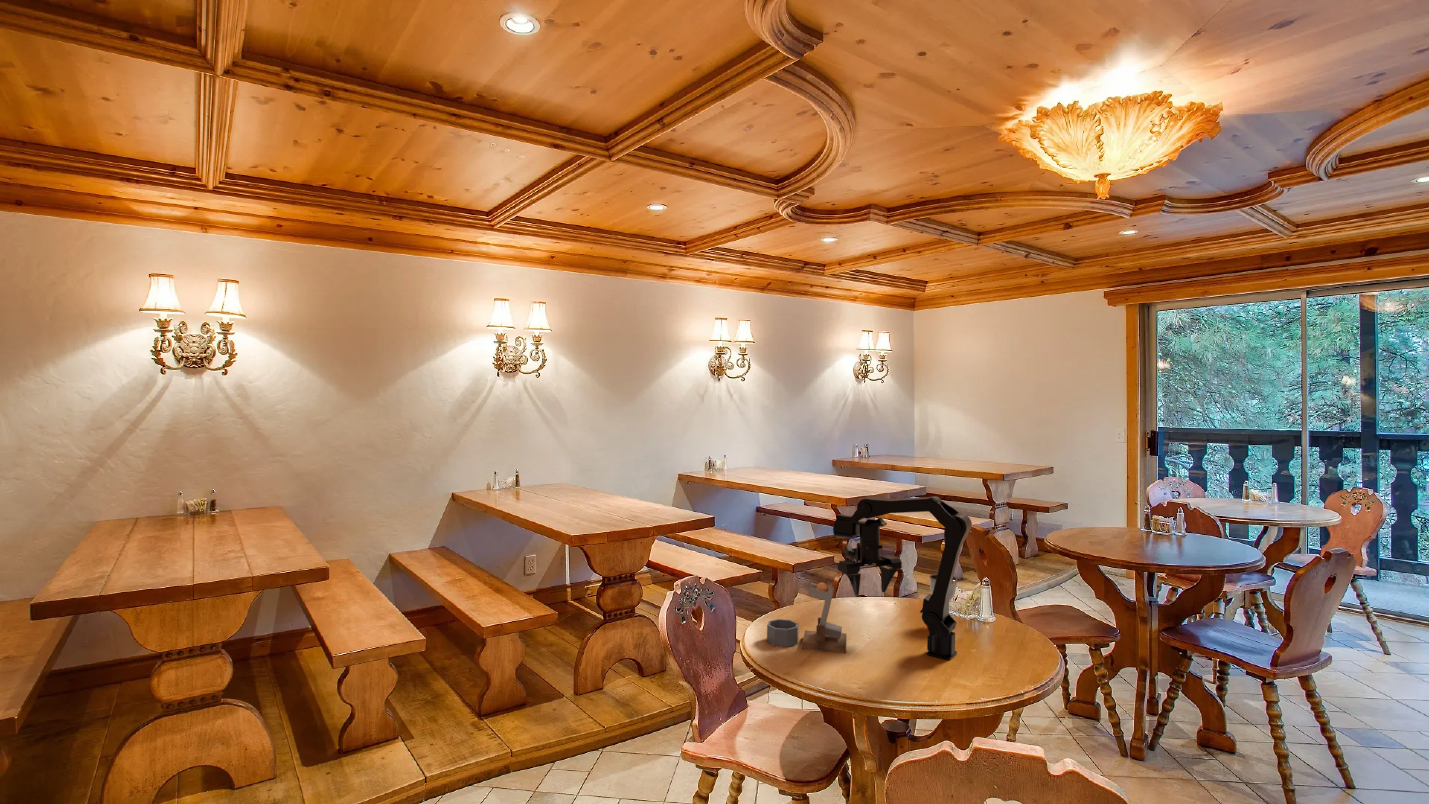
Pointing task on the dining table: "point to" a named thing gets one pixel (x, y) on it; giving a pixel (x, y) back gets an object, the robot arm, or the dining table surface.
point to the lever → (826, 610)
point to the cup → (782, 632)
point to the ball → (822, 587)
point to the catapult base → (823, 641)
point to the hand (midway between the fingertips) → (870, 594)
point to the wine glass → (952, 588)
